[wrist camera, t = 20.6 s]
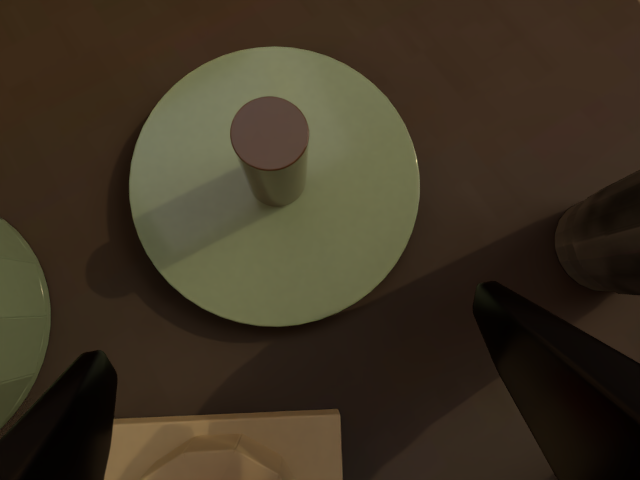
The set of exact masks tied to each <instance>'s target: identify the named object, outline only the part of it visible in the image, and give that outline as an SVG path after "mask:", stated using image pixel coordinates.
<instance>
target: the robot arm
mask: <svg viewBox="0 0 640 480" xmlns="http://www.w3.org/2000/svg"><path fill="white" fill-rule="evenodd" d="M473 314H474V317H475V319H476V322H477V324H478V327H479V329H480V331H481V334H482V336H483V338H484V341H485V343H486V346H487V348H488V350H489V353H490V355H491V358H492V360H493V362H494V364H495V367H496V369H497V371H498V373H499V375H500V377H501V379H502V380H503V382H504V384H505V386H506V388H507V389H508V391H509V393H510V395H511V397H512V398H513V400H514V402H515V404H516V406H517V407H518V409H519V411H520V413H521V415H522V416H523V418H524V420H525V422H526V424H527V425H528V427H529V429H530V431H531V433H532V434H533V436H534V438H535V440H536V442H537V443H538V445H539V447H540V449H541V451H542V452H543V454H544V456H545V458H546V459H547V461H548V463H549V465H550V467H551V468H552V470H553V472H554V474H555V476H556V477H557V479H558V480H640V363H638V362H636V361H634V360H633V359H631V358H629V357H627V356H626V355H624V354H622V353H620V352H619V351H617V350H615V349H613V348H612V347H610V346H608V345H606V344H605V343H603V342H601V341H599V340H598V339H596V338H594V337H592V336H591V335H589V334H587V333H585V332H584V331H582V330H580V329H578V328H577V327H575V326H573V325H571V324H570V323H568V322H566V321H564V320H563V319H561V318H559V317H557V316H556V315H554V314H552V313H550V312H549V311H547V310H545V309H543V308H542V307H540V306H538V305H536V304H535V303H533V302H531V301H529V300H528V299H526V298H524V297H522V296H521V295H519V294H517V293H515V292H514V291H512V290H510V289H508V288H507V287H505V286H503V285H501V284H500V283H498V282H496V281H489V282H483V283H479V284H478V285H477V287H476V292H475V297H474V302H473ZM116 390H117V374H116V371H115V369H114V367H113V366H112V364H111V362H110V361H109V359H108V358H107V356H106V354H105V353H104V352H103V351H101V350H97V351H91V352H85V353H83V354H81V355H80V356H79V357H78V358H77V359H76V360H75V361H74V362H73V363H72V364H71V365H70V366H69V367H68V368H67V370H66V371H65V372H64V373H63V374H62V375H61V376H60V377H59V378H58V379H57V380H56V381H55V382H54V383H53V384H52V385H51V386H50V387H49V389H48V390H47V391H46V392H45V393H44V394H43V395H42V396H41V397H40V398H39V399H38V400H37V401H36V402H35V403H34V404H33V405H32V406H31V407H30V409H29V410H28V411H27V412H26V413H25V414H24V415H23V416H22V417H21V418H20V419H19V420H18V421H17V422H16V423H15V424H14V425H13V426H12V428H11V429H10V430H9V431H8V432H7V433H6V434H5V435H4V436H3V437H2V438H1V439H0V480H104V477H105V472H106V467H107V463H108V458H109V453H110V447H111V440H112V432H113V421H114V411H115V401H116Z"/></svg>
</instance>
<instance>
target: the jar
mask: <svg viewBox="0 0 640 480" xmlns="http://www.w3.org/2000/svg"><path fill="white" fill-rule="evenodd" d="M50 326H51V306H50V298H49V291H48V287H47V283H46V280H45V276H44V273H43V271H42V268H41V266H40V264H39V261H38V259H37V257H36V256H35V254H34V252H33V251H32V249H31V248H30V246H29V245H28V243H27V242H26V241H25V240H24V238H23V237H22V236H21V235H20V234H19V233H18V231H17V230H16V229H14V228H13V227H12V226H11V225H10V224H9V223H7V222H6V221H5V220H4V219H2V218H1V217H0V429H1V428H2V427H3V426H4V425H5V424H6V423H7V422H8V420H9V419H10V418H11V417H12V416H13V415H14V414H15V412H16V411H17V410H18V408H19V407H20V405H21V404H22V403H23V401H24V400H25V398H26V397H27V395H28V393H29V392H30V390H31V388H32V386H33V384H34V382H35V381H36V378H37V376H38V374H39V371H40V369H41V366H42V364H43V361H44V357H45V354H46V350H47V346H48V341H49V334H50Z"/></svg>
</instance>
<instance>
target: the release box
mask: <svg viewBox="0 0 640 480" xmlns="http://www.w3.org/2000/svg"><path fill="white" fill-rule="evenodd" d="M104 480H343V473H342V445H341V417H340V413H339V411H338V409H322V410H300V411H278V412H255V413H233V414H211V415H189V416H167V417H145V418H122V419H114V421H113V432H112V440H111V447H110V453H109V458H108V463H107V467H106V472H105V477H104Z"/></svg>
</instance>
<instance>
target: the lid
mask: <svg viewBox="0 0 640 480" xmlns="http://www.w3.org/2000/svg"><path fill="white" fill-rule="evenodd" d="M419 198H420V176H419V168H418V161H417V157H416V153H415V150H414V146H413V142H412V140H411V138H410V135H409V133H408V130H407V128H406V126H405V124H404V122H403V121H402V119H401V117H400V115H399V114H398V112H397V110H396V109H395V108H394V106H393V105H392V104H391V103H390V101H389V100H388V99H387V97H386V96H385V95H384V94H383V93H382V92H381V91H380V90H379V89H378V88H377V87H376V86H375V85H374V84H373V83H372V82H370V81H369V80H368V79H367V78H365V77H364V76H363V75H361V74H360V73H359V72H357V71H355V70H354V69H352V68H350V67H349V66H347V65H346V64H344V63H342V62H339V61H337V60H335V59H333V58H330V57H328V56H325V55H322V54H319V53H316V52H312V51H308V50H303V49H297V48H290V47H258V48H252V49H246V50H241V51H237V52H233V53H230V54H227V55H224V56H221V57H219V58H216V59H214V60H212V61H210V62H207V63H205V64H203V65H202V66H200V67H198V68H197V69H195V70H193V71H192V72H190V73H189V74H187V75H186V76H185V77H184V78H182V79H181V80H180V81H179V82H177V83H176V84H175V85H174V86H173V87H172V88H171V89H170V90H169V91H168V92H167V93H166V94H165V95H164V96H163V97H162V98H161V100H160V101H159V102H158V104H157V105H156V106H155V108H154V109H153V110H152V112H151V113H150V115H149V117H148V119H147V120H146V122H145V124H144V126H143V127H142V130H141V132H140V135H139V137H138V140H137V142H136V145H135V149H134V153H133V157H132V161H131V167H130V176H129V200H130V206H131V212H132V218H133V222H134V225H135V228H136V231H137V234H138V237H139V239H140V241H141V243H142V246H143V248H144V250H145V252H146V254H147V255H148V257H149V258H150V260H151V261H152V263H153V264H154V266H155V267H156V269H157V270H158V272H159V273H160V274H161V275H162V276H163V277H164V278H165V279H166V281H167V282H168V283H169V284H170V285H171V286H172V287H173V288H174V289H176V290H177V291H178V292H179V293H180V294H182V295H183V296H184V297H185V298H186V299H188V300H190V301H191V302H193V303H194V304H196V305H197V306H199V307H200V308H202V309H204V310H206V311H208V312H211V313H213V314H215V315H217V316H219V317H222V318H225V319H228V320H232V321H235V322H238V323H243V324H249V325H255V326H266V327H284V326H294V325H301V324H306V323H310V322H314V321H318V320H321V319H324V318H326V317H329V316H331V315H334V314H337V313H339V312H341V311H342V310H344V309H346V308H348V307H350V306H352V305H353V304H355V303H356V302H358V301H359V300H361V299H362V298H363V297H365V296H366V295H367V294H369V293H370V292H371V291H372V290H373V289H374V288H375V287H376V286H377V285H378V284H379V283H381V282H382V281H383V280H384V279H385V277H386V276H387V275H388V274H389V272H390V271H391V270H392V268H393V267H394V266H395V265H396V263H397V261H398V260H399V258H400V256H401V255H402V253H403V251H404V250H405V248H406V246H407V243H408V241H409V238H410V236H411V234H412V231H413V228H414V224H415V220H416V217H417V213H418V205H419Z"/></svg>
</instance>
